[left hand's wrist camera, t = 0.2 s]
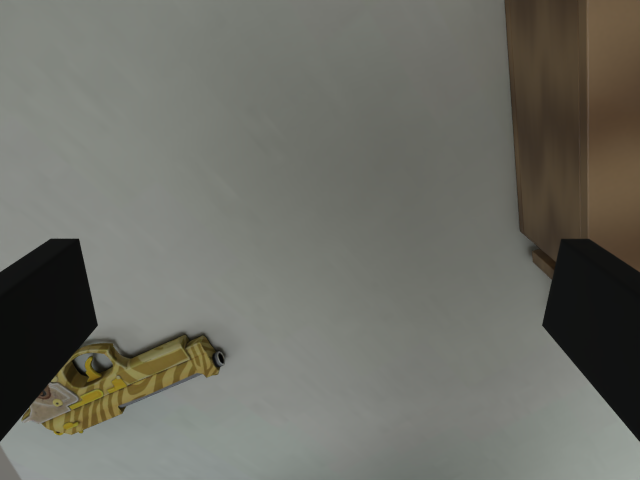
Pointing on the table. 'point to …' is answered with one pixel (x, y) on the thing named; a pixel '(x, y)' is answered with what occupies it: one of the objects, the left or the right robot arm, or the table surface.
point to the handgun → (118, 383)
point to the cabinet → (577, 121)
